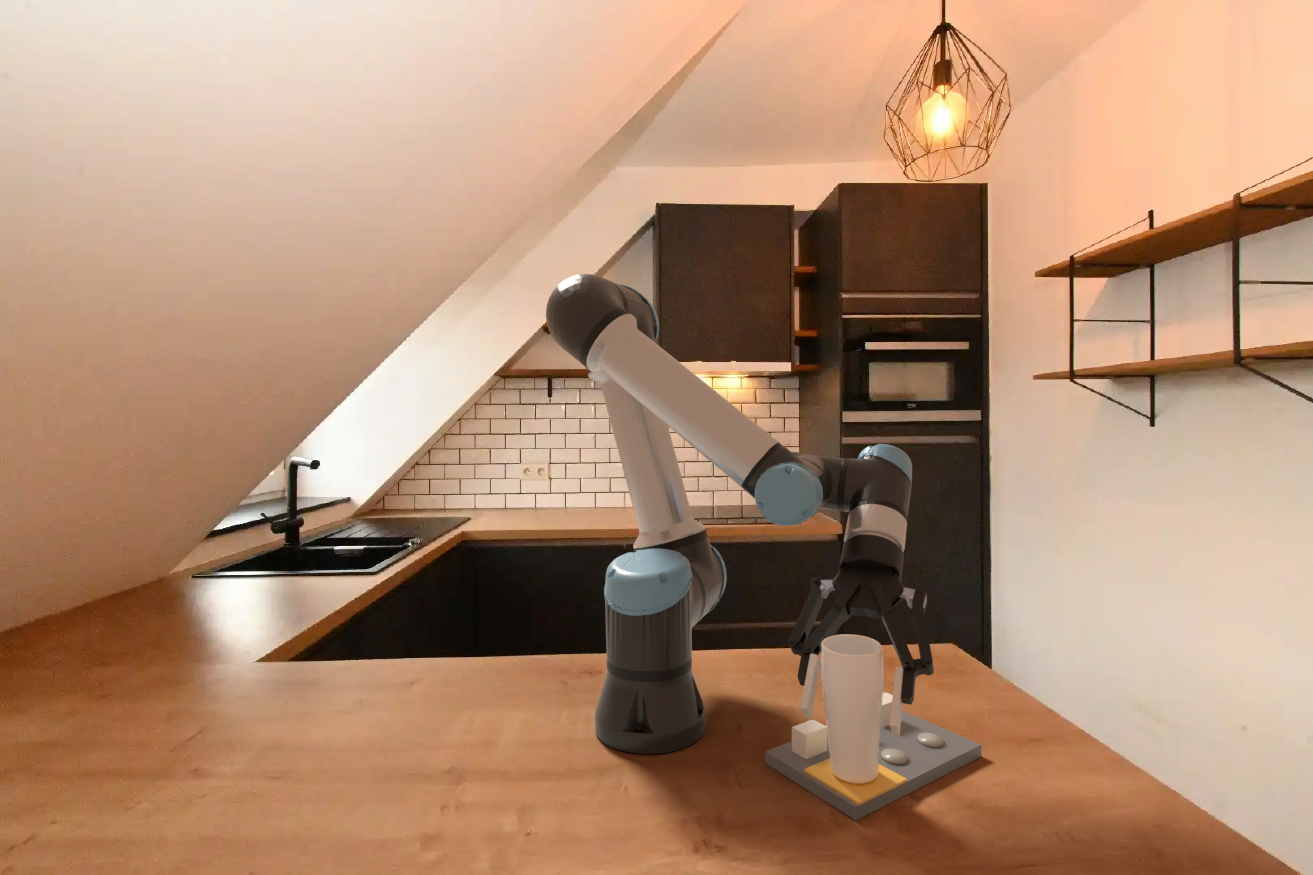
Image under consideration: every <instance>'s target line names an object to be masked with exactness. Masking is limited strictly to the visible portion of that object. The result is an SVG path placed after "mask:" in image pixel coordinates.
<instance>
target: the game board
mask: <svg viewBox="0 0 1313 875" xmlns="http://www.w3.org/2000/svg"><path fill="white" fill-rule="evenodd" d="M892 698H893V694H890V693H889V692H887V691H886V692H883V698H882V711H881V725H880V740H879V772H878V775H877V777H876V778H875V779H874V780H872V781H871V782H868V783H863V784H855V783H849V782H846V781H843V780H841V779H839V778H838V777H836V776H835V775H834V774H833V772H832V771H831V768H830V752H829V742H828V733H827V725H824V724H822V723H821V722H819V721H817V720H815V719H814V718H813V719H812V718H811V719H809V720H807V721H805V722H802V723H799V724H796V725H793V726H792V727H791V741H789V742H786V743H784V744H780V745H778V746H775V747H773V748H771V749H768V750H765V752H764V753H765V754H764V758H765V759H764V760H765V764H766V765H768V766H769V767H770V766H771V767H770V768H772V769H774V770H775V771H777V772H778V771H779V772H778V773H780V774H781V775H783V776H784V777H787V778H788V779H790V780H791V781H793V782H794V783H796V784H797V785H798V786H800V787H803V789H806V790H807V791H808V792H810V793H812V794H813V795H814V796H816V797H818V798H820V799H821V800H822V801H824V802H825V803H827V804H829V805H830V806H832V807H834V808H835V809H837V810H838V811H840V812H842V813H843V814H845V815H846V816H848V817H849V818H851V819H853V820H854V821H858V820H860V819H862V818H864V817H866V816H867V815H870V814H872V813H874V812H876V811H877V810H880V809H882V808H883V807H886V806H887V805H890V804H891V803H893V802H896V801H897V800H899V799H901V798H903V797H905V796H907V795H908V794H909V795H910V794H911V793H912V792H915V791H917V790H918V789H921V788H922V787H924V786H926V785H928V784H930V783H933V782H934V781H936V780H938V779H940V778H942V777H944V776H946V775H948V774H949V773H951V772H953V771H956V770H958V769H960V768H962V767H963V766H965V765H967V764H969V763H971V762H973V761H975V760H977V759H979V758H981V757H982V744H981V743H979V742H976V741H974V740H972V739H971V738H970V739H969V738H967V737H964V736H962V735H960V734H958V733H955V732H954V731H950V730H949V729H946V728H944V727H941V726H939V725H937V724H935V723H932V722H930V721H928V720H925V719H923V718H921V717H918V716H916V715H914V714H912V713H909V712H906V711H904V710H902V716H901V727H900V736H896V735H892V732H891V728H890V718H891V708H892Z"/></svg>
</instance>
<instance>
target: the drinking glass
mask: <svg viewBox="0 0 1313 875" xmlns="http://www.w3.org/2000/svg"><path fill="white" fill-rule="evenodd" d="M883 657H884V656H883V646H882V644H881V643H880V642H879V641H878V640H877V639H873V638H872V637H869V636H864V635H859V634H848V633H847V634H846V633H845V634H834V636H830V637H827V638H825V639H824V640H823V641H822V643H821V652H820V665H821V666H820V677H821V687H822V697H823V705H824V706H823V707H824V713H825V723H826V726H827V733H828V742H829V752H830V768H831V771H832V772H833V774H834V775H835V776H836V777H838V778H839V779H841V780H843V781H846V782H849V783H855V784H863V783H868V782H871V781H872V780H874V779H875V778H876V777H877V775H878V772H879V740H880V725H881V711H882V698H883V693H884V658H883Z"/></svg>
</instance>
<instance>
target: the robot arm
mask: <svg viewBox="0 0 1313 875" xmlns="http://www.w3.org/2000/svg"><path fill="white" fill-rule="evenodd" d="M545 319H546V320H545V321H546V325H547V327H548V331H549V333H550V335H551V337H552V338H553V339H554V341H555V342H556V343H557V344H558V346H559V347H561V349H562V350H564V351H565V352H567V353H568V354H569V355H570V356H571V357H572V358H574V359H575V360H576V361H578V362H579V363H580V364H581V365H582V366H584V367H585V369H586V372H587V376H588V378H589V379H591V380H592V381H594V382H595V383H598V384H599V385H600V388H601V392H602V396H603V398H604V399H603V400H604V402H605V408H606V411H607V414H608V419H609V422H610V426H611V430H612V433H613V437H614V442H615V444H616V448H617V452H618V454H619V459H620V462H621V468H622V471H623V474H624V479H625V482H626V485H627V489H628V493H629V497H630V500H631V504H632V509H633V512H634V516H635V520H636V523H637V528H638V536H637V538H636V539H635V541H634V542H633V544H632V546H633V550H634V552H633V551H631V552H626V553H624V554H622V555H619V556H617V557H616V558H614V559H613V560H612V561H611V562H610V563H609V565H608V566H607V568H606V571H605V572H606V573H605V584H604V587H603V595H604V602H605V604H604V605H605V606H604V607H605V639H606V642H605V643H606V645H605V647H606V648H605V650H606V675H605V678H604V681H603V684H602V687H601V691H600V695H599V698H598V701H597V706H596V708H595V712H594V730H595V735H596V736H597V737H598V739H599V740H600V741H601V742H602V743H603V744H605V745H607V746H609V747H611V748H612V749H614V750H615V749H616V750H619V751H621V752H626V753H632V754H640V755H641V754H644V755H654V754H655V755H656V754H658V755H659V754H665V753H671V752H675V751H678V750H679V751H680V750H681V749H684V748H687V747H689V746H691V745H693V744H695V743H697V741H698V740H700V739H701V738H702V736H704V734H705V731H706V727H707V726H706V710H705V705H704V703H703V699H702V697H701V693H700V691H699V688H698V685H697V682H696V679H695V676H694V673H693V663H692V662H693V659H692V658H693V654H692V653H693V647H692V646H693V644H692V643H693V641H692V639H693V638H692V634H693V633H692V632H693V631H692V628H693V627H694V626H696V625H697V623H699V622H700V621H701V620H702V619H703V617H705V616H706V615H708V614H709V613H710V612H711V611H713V609H715V607H716V606H717V605H718V603H719V602H720V600H721V598H722V595H723V594H724V591H725V588H726V585H727V568H726V565H725V561H724V560H723V557H722V555H721V554H720V552H719V551H718V550H717V549H716V547H714V546H713V545H711V543H710V539H709V535H708V533H707V529H706V526H705V525H704V524H703V523H701V522H699V521H697V520H696V519H695V518H693V514H692V509H691V506H690V503H689V500H688V496H687V492H686V489H685V485H684V480H683V478H682V473H681V470H680V465H679V463H678V458H677V455H676V450H675V448H674V443H673V440H672V437H671V433H670V429H671V430H672V431H673V432H674V433H675V434H677V435H678V436H679V437H680V438H682V440H684V441H685V442H687V444H688V445H690V446H691V447H692V448H694V449H695V450H696V451H697V452H699V454H701V455H702V456H703V457H704V458H706V460H708V461H709V462H711V463H712V464H713V465H714V466H715V467H717V468H718V470H720V471H721V472H723V473H724V474H725V475H726V476H727V477H728V478H730V479H731V480H732V481H733V482H734V483H736V484H737V485H738V486H740V487H741V488H742V489H743V490H744V491H745V492H746V493H747V494H749V495H750V496H751V497H752V498H753V499H754V501H755V505H756V507H757V509H758V511H759V513H760V514H761V515H762V516H763V517H764V518H765V519H766V520H767V521H769V522H770V523H773V524H775V525H777V526H781V527H782V526H783V527H792V526H797V525H799V524H802V523H804V522H807V521H808V520H809V519H811V518H813V517H814V516H815V515H816V514H817V513H818V512H819V510H828V511H829V510H830V511H837V512H842V513H848V515H847V521H846V527H845V531H844V532H845V533H844V538H843V541H844V543H843V544H842V550H841V556H840V560H839V567H838V572H837V574H836V576H834V578H833V579H821V577H820V576H818V575H814V576H812V577H811V578H810V589H809V590H810V591H809V594H808V596H807V598H806V600H805V602H804V604H803V607H802V609H801V610H800V614H799V616H798V617H797V620H796V622H795V624H794V626H793V628H792V631H791V633H790V635H789V637H788V638H787V643H788V645H789V648H790V650H791V653H792V654H793V655H796V656H800V661H799V665H798V671H797V679H798V683H799V684H800V686H803V690H802V695H801V696H802V697H801V701H800V702H801V703H800V707H799V708H800V710H801V713H802V715H803V717H804V718H805V719H809V720H812V718H813V710H814V704H815V701H816V700H815V699H816V695H817V694H816V693H817V688H818V683H819V682H818V681H819V677H820V673H821V661H820V660H819V655H821V643H822V641H823V640H824V639H825V638H827V637H830V636H834V635H836V633H837V632H838V630H839V629H840V628H841V626H842V625H843V624H844V623H845V622H847V621H848V620H849V618H850V617H851V616H853V617H863V616H864V617H865V616H866V617H869V618H871V619H880V618H881V620H882V623H883V625H884V627H885V628H886V632H887V633H888V637H889V638H890V641H891V643H892V645H893V648H894V650H895V652H896V655H897V657H898V660H899V663H900V664H901V667H900V666H895V671H894V673H895V674H894V682H893V691H892V695H893V698H892V708H891V718H890V728H891V732H892V735H896V736H900V727H901V716H902V711H903V705H904V704H905V705H911V706H912V705H913V703H914V701H915V700H914V699H915V690H916V688H915V687H916V679H917V677H918V676H922V675H926V676H932V675H933V674H934V670H935V668H934V661H933V656H932V649H931V644H930V637H929V632H928V628H927V621H926V616H925V611H926V608H927V604H928V597H927V591H926V589H925V588H924V587H923V586H917V587H916V588H915V589H913V588H909V587H904V584H903V583H902V578H903V577H902V575H903V568H904V567H903V566H904V560H905V558H904V555H905V554H904V551H905V548H906V540H907V528H908V519H909V518H908V517H909V509H910V503H911V502H910V501H911V495H912V485H913V484H912V483H913V464H912V461H911V460H912V459H911V458H910V457H909V455H908V454H907V453H906V452H905V450H903V449H901V448H899V447H896V446H895V445H891V444H885V443H884V444H883V443H878V444H876V445H873V446H872V445H868V446H867V447H865V448H863V449H862V451H860V453H859V455H858V457H857V458H850V457H849V458H843V457H841V458H840V457H834V456H827V455H826V456H825V455H818V454H809V453H800V452H799V451H791V450H790V449H788V447H785V446H784V445H783V444H782V443H780V442H779V441H778V440H777V439H776V438H774V436H773V435H771V434H770V433H769V432H767V431H766V430H765V429H764V428H763V427H761V426H760V425H758V424H757V423H756V422H754V420H752V419H751V418H750V417H748V415H746V414H745V413H744V412H742V411H741V410H740V409H738V408H737V407H736V406H735V405H734V404H732V403H731V402H729V400H727V399H726V398H725V397H723V395H721V394H720V393H718V392H717V391H716V390H714V388H712V387H711V386H710V385H708V384H707V383H706V382H705V381H703V380H702V379H701V378H700V377H698V376H697V375H696V374H695V373H694V372H692V371H691V370H690V369H689V368H687V367H686V366H685V365H684V364H682V363H681V362H680V361H678V359H676V358H675V357H674V356H673V355H671V354H670V353H668V352H667V351H666V350H665V349H663V348H662V347H661V346H660V345H659V344H657V343H656V342H657V339H658V337H659V333H660V332H659V331H660V322H659V318H658V314H657V311H656V309H655V307H654V305H653V304H652V303H651V302H650V300H649V299H647V297H645V296H644V295H643V294H642V293H641V292H639V291H638V290H637V289H635V288H633V287H631V286H627V285H623V284H618V283H617V282H614V281H612V280H609V279H606V278H605V277H602V276H599V275H595V274H592V273H591V274H590V273H579V274H575V275H572V276H570V277H568V278H566V279H564V280H562V281H561V282H559V284H558V285H557V286H555V287H554V289H553V291H552V292H551V294H550V296H549V297H548V300H547V303H546V309H545ZM832 591H834V592H835V593H836V595H837V598H835V599H836V600H834V602H833V605H832V608H831V609H830V610H828V613H827V614H826V615H825V616H824V617H823V619H822V620H821V621H820V622H819V624H818V626H817V627H816V628H815V629H814V630H813V632H811V631H812V629H813V627H814V625H815V622H816V620H817V618H818V615H819V613H820V611H821V609H822V606H823V603H824V600H825V599H827V598H828V597H829V594H830V593H831V592H832ZM903 599H904V600H905V601H906V604H907V606H908V608H910V609H912V613H913V620H914V627H915V634H916V639H917V646H918V651H919V652H918V653H919V658H915V659H914V658H913V656H912V653H911V651H910V649H909V647H908V644H907V642H906V639H905V637H904V635H903V633H902V631H901V628H900V625H899V624H898V622H897V619H896V616H895V614H894V611H893V608H894V607H895V606H896V605H897V604H898V603H900V601H901V600H903ZM810 633H811V634H810Z"/></svg>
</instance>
